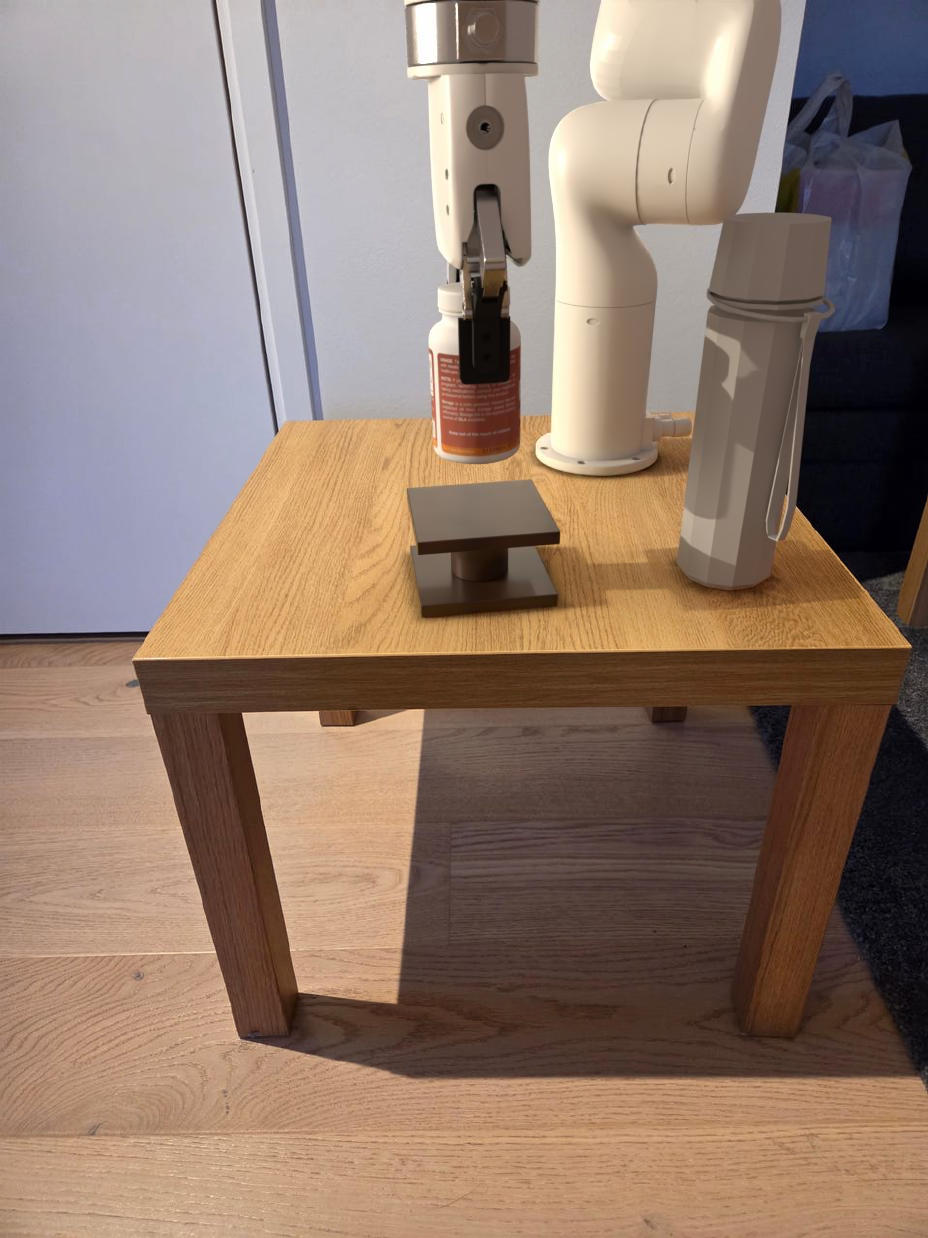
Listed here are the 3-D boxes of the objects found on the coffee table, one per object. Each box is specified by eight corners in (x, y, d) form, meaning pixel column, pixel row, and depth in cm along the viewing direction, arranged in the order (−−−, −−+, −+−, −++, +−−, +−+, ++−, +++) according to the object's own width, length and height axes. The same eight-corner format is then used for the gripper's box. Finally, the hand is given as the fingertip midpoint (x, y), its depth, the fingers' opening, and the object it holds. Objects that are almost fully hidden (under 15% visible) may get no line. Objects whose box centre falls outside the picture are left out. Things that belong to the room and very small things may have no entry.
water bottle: (652, 564, 67) (689, 216, 54) (731, 544, 70) (784, 208, 57) (729, 617, 60) (793, 230, 47) (814, 592, 62) (896, 221, 50)
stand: (530, 546, 70) (531, 478, 67) (557, 606, 62) (560, 531, 58) (410, 556, 69) (406, 487, 66) (421, 618, 60) (417, 542, 57)
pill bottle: (538, 454, 59) (542, 287, 53) (465, 474, 56) (460, 299, 50) (487, 431, 64) (486, 274, 58) (417, 448, 61) (408, 285, 55)
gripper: (574, 33, 41) (560, 401, 50) (510, 56, 55) (508, 337, 65) (419, 35, 40) (434, 409, 49) (396, 58, 55) (411, 342, 64)
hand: (476, 365), depth 57 cm, fingers closed on pill bottle, 6 cm apart
